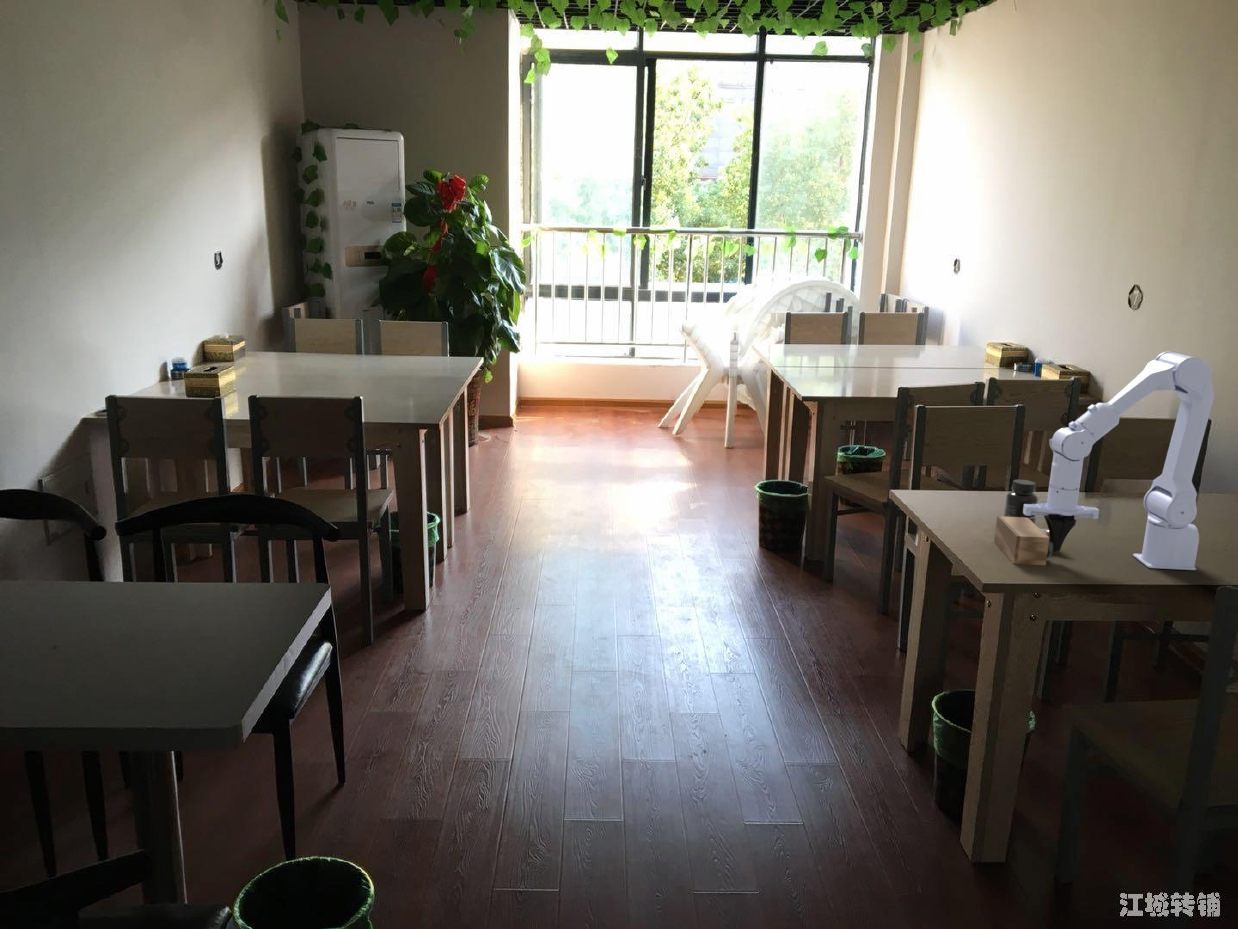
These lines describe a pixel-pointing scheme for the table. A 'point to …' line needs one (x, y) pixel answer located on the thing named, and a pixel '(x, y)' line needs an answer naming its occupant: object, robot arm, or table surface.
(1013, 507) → the supplement bottle
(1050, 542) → the knob near
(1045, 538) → the catch block
